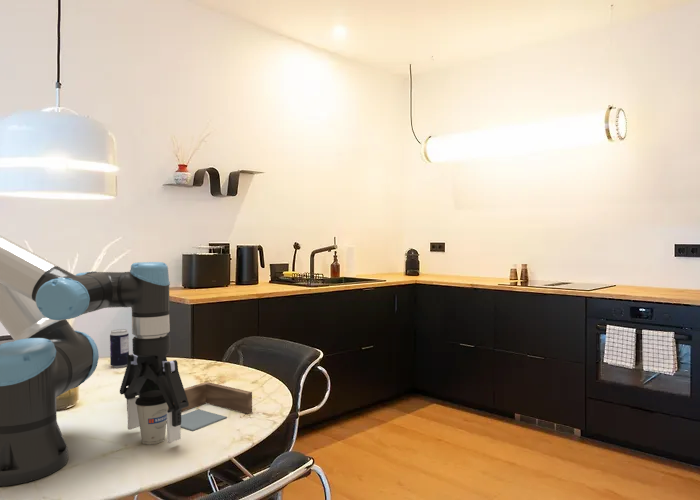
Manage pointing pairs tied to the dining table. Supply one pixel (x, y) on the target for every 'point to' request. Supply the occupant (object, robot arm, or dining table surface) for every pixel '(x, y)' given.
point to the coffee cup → (152, 416)
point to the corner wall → (218, 397)
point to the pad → (199, 419)
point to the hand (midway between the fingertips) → (153, 434)
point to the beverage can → (119, 348)
